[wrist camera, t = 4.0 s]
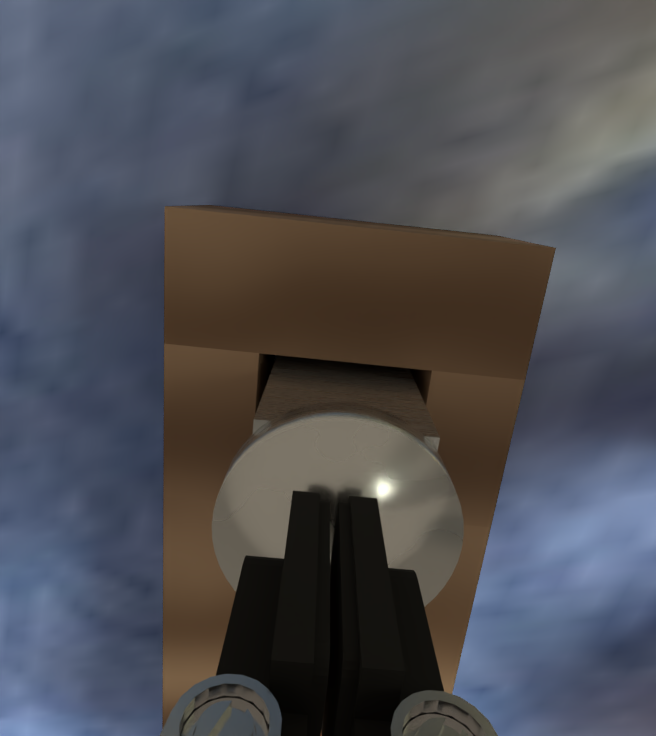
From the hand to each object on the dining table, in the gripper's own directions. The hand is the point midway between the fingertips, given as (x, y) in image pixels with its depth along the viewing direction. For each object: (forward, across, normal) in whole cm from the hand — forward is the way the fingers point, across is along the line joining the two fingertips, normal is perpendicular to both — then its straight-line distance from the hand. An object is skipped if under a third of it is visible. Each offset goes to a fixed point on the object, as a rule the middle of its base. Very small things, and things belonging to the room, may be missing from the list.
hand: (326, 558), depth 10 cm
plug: (+7, 0, 0) cm, 7 cm away
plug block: (+10, 0, +6) cm, 12 cm away
